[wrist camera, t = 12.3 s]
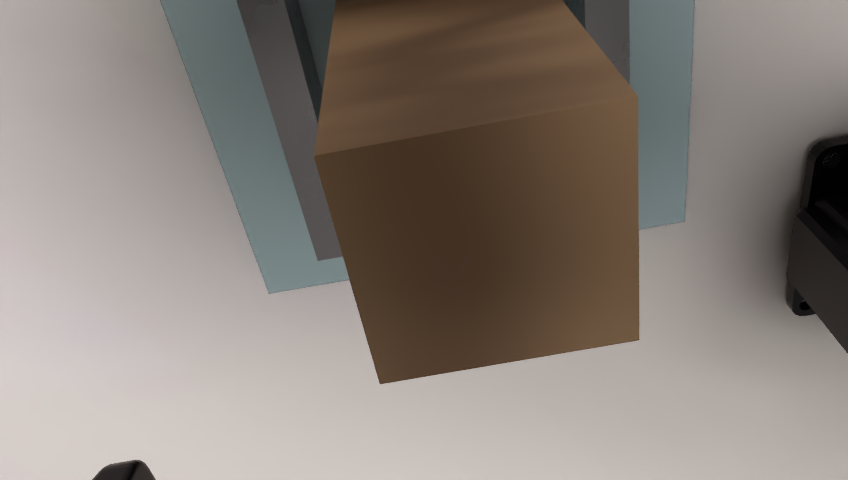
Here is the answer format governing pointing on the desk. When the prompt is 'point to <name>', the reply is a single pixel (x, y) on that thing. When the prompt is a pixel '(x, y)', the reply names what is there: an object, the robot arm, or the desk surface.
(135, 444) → the desk surface
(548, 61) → the walnut peg
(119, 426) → the desk surface
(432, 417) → the desk surface
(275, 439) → the desk surface
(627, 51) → the socket holder
